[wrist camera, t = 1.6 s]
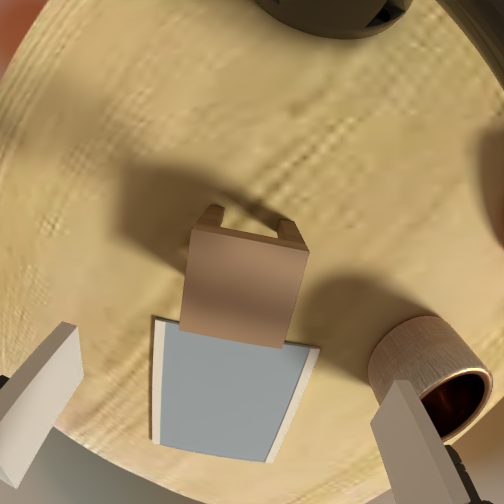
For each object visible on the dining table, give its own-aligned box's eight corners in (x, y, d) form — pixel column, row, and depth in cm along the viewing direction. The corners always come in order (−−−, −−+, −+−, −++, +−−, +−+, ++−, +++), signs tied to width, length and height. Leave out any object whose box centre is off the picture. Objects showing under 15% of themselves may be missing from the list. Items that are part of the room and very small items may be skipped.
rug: (156, 317, 29) (155, 320, 29) (319, 346, 30) (320, 349, 30) (153, 440, 36) (152, 443, 35) (272, 460, 36) (272, 463, 36)
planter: (352, 391, 32) (373, 456, 23) (385, 308, 29) (426, 366, 20) (428, 391, 33) (459, 444, 24) (464, 315, 29) (511, 363, 20)
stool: (210, 205, 26) (191, 228, 18) (294, 221, 26) (309, 251, 19) (198, 282, 28) (178, 330, 21) (275, 297, 29) (281, 349, 21)
